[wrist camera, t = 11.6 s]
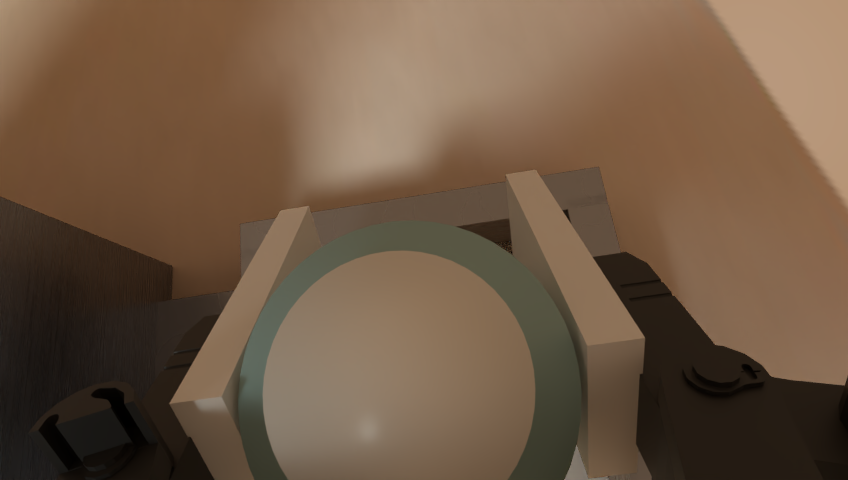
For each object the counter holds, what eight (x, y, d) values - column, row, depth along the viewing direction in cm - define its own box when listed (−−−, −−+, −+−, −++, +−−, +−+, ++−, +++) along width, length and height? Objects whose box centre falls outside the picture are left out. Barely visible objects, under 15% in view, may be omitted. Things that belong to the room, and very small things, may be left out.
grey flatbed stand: (657, 509, 15) (967, 713, 5) (-103, 599, 16) (-883, 884, 7) (582, 196, 18) (698, -13, 8) (-53, 295, 19) (-548, 209, 10)
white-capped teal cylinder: (346, 438, 15) (145, 518, 6) (395, 292, 16) (292, 165, 7) (497, 493, 14) (540, 686, 5) (537, 334, 16) (632, 254, 6)
